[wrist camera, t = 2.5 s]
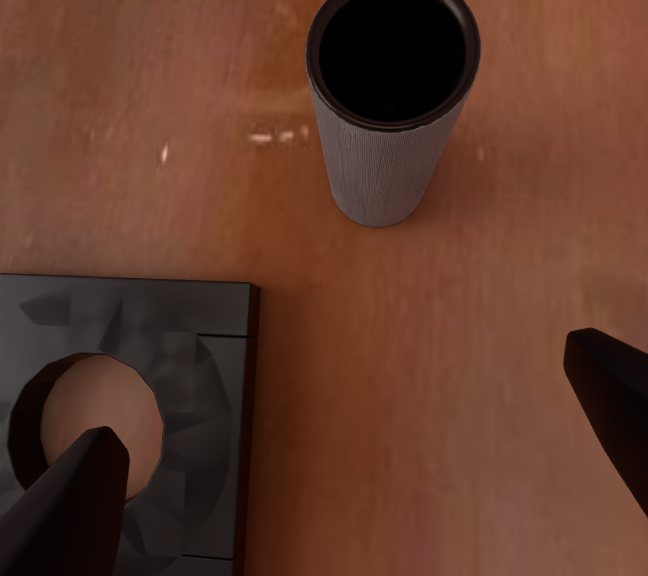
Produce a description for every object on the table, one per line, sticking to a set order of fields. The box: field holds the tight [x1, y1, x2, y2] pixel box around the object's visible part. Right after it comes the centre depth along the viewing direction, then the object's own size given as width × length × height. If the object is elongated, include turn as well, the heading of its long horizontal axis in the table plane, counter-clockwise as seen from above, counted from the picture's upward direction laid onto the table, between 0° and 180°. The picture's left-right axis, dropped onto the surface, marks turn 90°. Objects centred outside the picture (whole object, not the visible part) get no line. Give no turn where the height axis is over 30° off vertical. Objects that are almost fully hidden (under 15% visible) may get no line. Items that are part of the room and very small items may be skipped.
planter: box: [305, 0, 481, 227], centre depth 17 cm, size 4×4×10 cm
